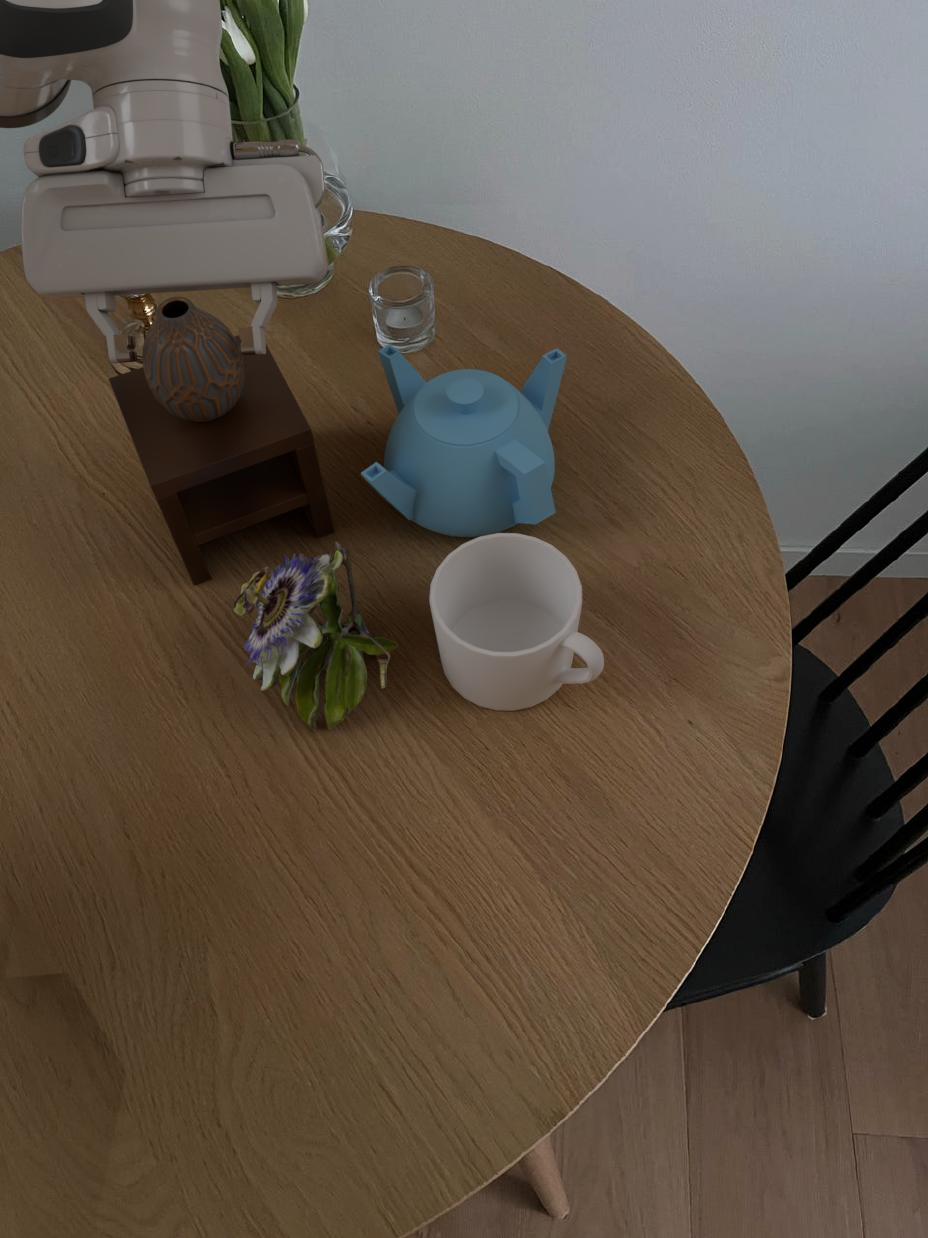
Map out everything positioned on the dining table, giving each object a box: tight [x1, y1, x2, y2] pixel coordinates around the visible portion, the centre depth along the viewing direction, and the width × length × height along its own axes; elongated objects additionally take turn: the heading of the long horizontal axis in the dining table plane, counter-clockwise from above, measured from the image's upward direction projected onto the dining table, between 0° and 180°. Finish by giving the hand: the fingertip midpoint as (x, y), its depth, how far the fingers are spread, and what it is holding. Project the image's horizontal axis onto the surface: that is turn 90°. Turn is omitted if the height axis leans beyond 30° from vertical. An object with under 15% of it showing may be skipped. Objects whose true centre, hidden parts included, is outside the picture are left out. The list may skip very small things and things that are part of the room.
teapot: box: [360, 343, 568, 538], centre depth 84 cm, size 15×15×11 cm
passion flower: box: [233, 541, 399, 731], centre depth 76 cm, size 11×11×12 cm
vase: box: [141, 296, 245, 422], centre depth 75 cm, size 7×7×9 cm
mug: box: [428, 532, 605, 712], centre depth 75 cm, size 13×10×8 cm
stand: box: [108, 334, 336, 586], centre depth 83 cm, size 12×12×12 cm
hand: (188, 358), depth 74 cm, fingers open, 8 cm apart
